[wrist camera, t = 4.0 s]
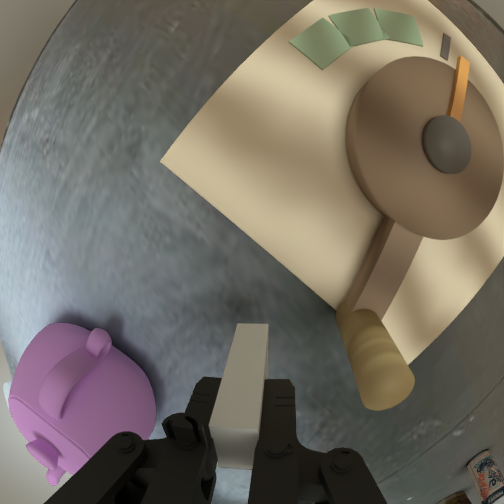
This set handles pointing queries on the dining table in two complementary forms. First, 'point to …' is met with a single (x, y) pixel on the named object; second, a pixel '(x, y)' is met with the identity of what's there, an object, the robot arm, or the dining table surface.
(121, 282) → the dining table surface
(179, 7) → the dining table surface
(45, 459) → the teapot
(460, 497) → the ceramic cup
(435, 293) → the board
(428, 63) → the dial
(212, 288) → the dining table surface
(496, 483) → the beer can
